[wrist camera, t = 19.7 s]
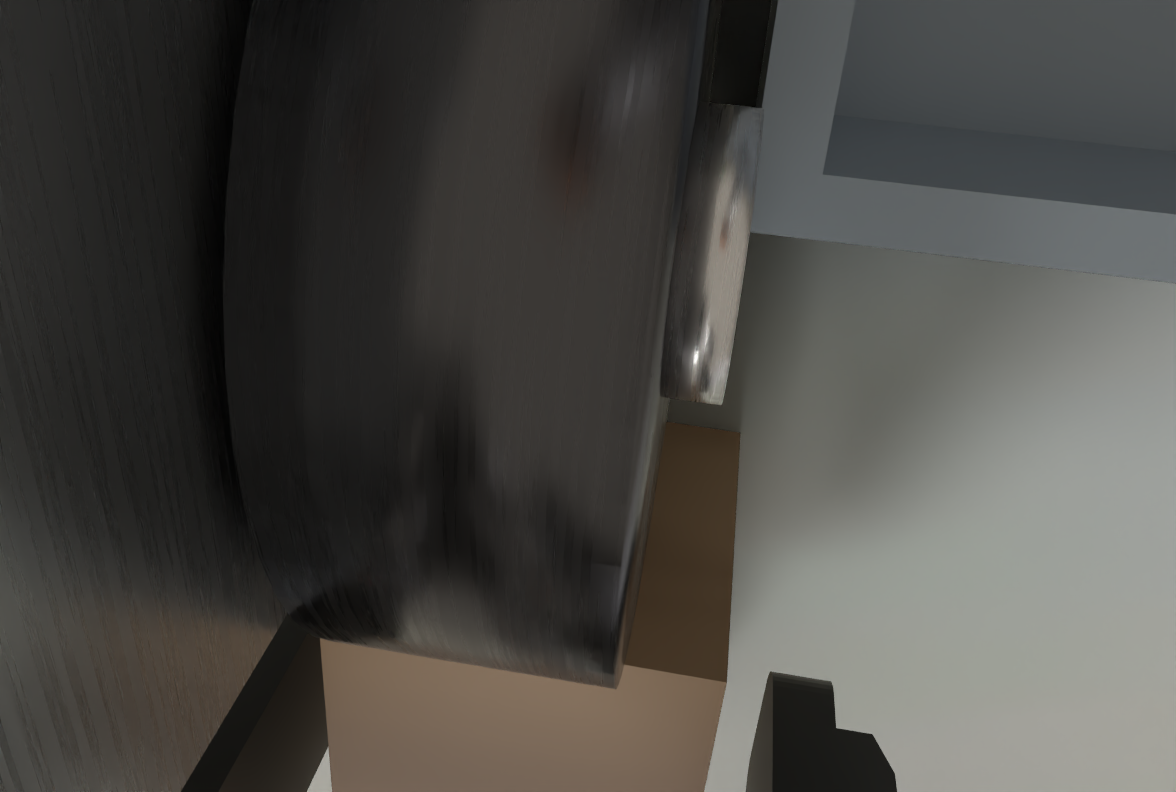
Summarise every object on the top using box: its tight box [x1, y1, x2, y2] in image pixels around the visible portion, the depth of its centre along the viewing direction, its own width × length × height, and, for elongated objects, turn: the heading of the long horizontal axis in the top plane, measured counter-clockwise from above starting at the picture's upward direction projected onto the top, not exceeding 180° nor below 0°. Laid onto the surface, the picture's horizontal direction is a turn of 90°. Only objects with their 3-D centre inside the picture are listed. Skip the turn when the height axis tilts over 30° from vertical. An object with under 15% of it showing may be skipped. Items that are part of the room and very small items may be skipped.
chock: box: [320, 422, 740, 792], centre depth 13 cm, size 5×4×4 cm
